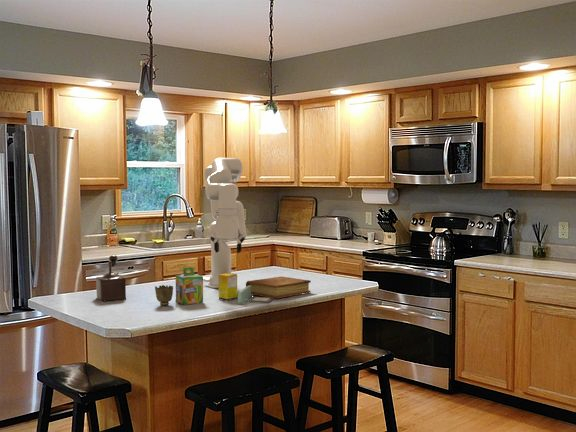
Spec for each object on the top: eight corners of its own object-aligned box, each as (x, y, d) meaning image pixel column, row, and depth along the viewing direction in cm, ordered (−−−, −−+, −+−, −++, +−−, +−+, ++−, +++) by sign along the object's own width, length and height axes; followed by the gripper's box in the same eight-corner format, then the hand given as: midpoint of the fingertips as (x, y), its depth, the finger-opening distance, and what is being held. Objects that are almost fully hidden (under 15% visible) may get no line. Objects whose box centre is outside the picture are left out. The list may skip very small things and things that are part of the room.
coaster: (248, 302, 271) (248, 300, 270) (253, 298, 279) (253, 296, 279) (269, 302, 269) (269, 301, 269) (273, 298, 278) (273, 297, 278)
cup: (165, 302, 270) (165, 284, 269) (177, 305, 265) (177, 286, 264) (151, 305, 264) (151, 286, 263) (163, 308, 259) (162, 288, 259)
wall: (236, 304, 267) (236, 292, 267) (246, 296, 284) (246, 285, 283) (243, 304, 266) (243, 292, 266) (253, 296, 283) (253, 285, 283)
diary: (280, 288, 305) (280, 276, 305) (310, 293, 292) (310, 280, 292) (245, 293, 288) (245, 280, 287) (276, 298, 275) (276, 285, 275)
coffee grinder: (128, 299, 278) (127, 258, 277) (102, 302, 272) (101, 259, 271) (117, 293, 291) (116, 254, 290) (92, 296, 286) (92, 256, 284)
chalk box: (183, 305, 264) (183, 270, 263) (174, 301, 272) (174, 267, 271) (204, 303, 269) (203, 268, 268) (194, 299, 277) (194, 265, 276)
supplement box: (228, 297, 282) (228, 272, 281) (237, 298, 278) (237, 273, 277) (218, 299, 278) (218, 274, 277) (227, 300, 274) (227, 275, 273)
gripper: (205, 213, 273) (206, 253, 274) (244, 213, 270) (245, 253, 271) (210, 212, 281) (211, 251, 282) (249, 212, 278) (249, 251, 279)
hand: (227, 252), depth 277 cm, fingers open, 9 cm apart
